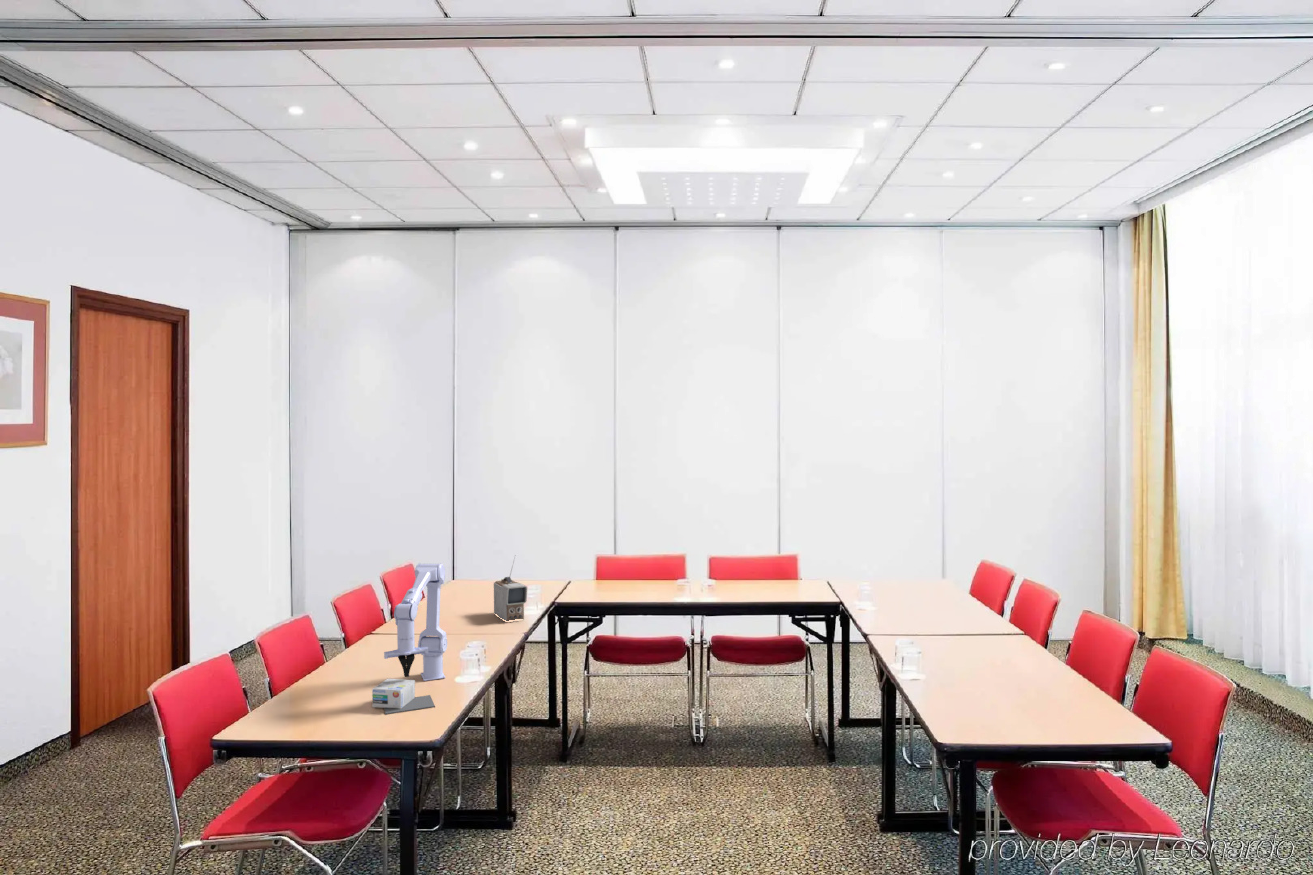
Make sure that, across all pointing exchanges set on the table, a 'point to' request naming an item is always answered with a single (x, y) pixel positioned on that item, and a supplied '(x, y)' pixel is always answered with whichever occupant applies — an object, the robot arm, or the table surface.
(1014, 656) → the table surface
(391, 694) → the light bulb box
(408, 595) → the robot arm
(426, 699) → the mat
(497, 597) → the portable television
